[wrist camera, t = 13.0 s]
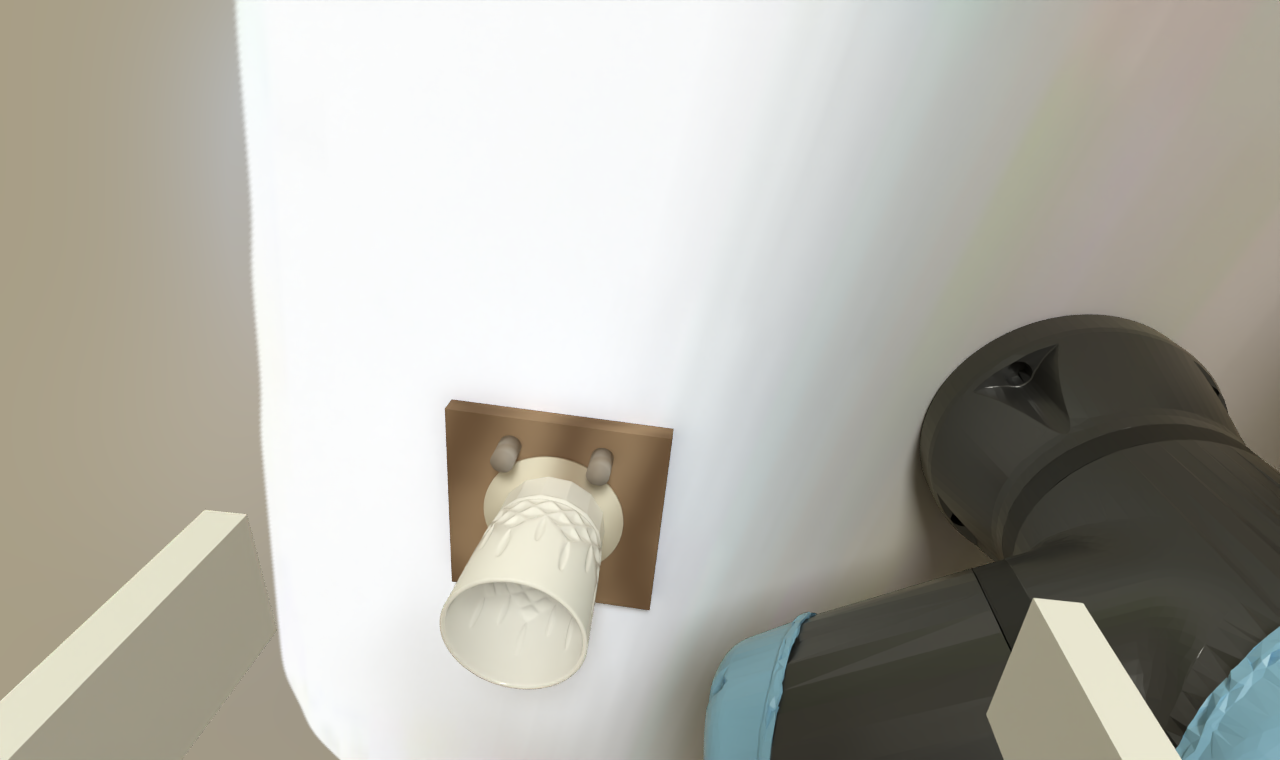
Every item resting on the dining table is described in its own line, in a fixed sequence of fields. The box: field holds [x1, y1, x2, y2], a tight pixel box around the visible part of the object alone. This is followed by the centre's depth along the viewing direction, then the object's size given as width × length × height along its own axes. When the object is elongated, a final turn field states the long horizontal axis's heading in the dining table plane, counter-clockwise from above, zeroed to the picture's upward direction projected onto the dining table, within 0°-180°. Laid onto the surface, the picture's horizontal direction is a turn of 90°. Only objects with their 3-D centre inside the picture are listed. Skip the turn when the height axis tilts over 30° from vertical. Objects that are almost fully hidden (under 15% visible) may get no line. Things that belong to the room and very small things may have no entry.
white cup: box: [440, 476, 605, 689], centre depth 41 cm, size 8×8×10 cm
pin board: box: [445, 400, 673, 610], centre depth 45 cm, size 14×14×3 cm
